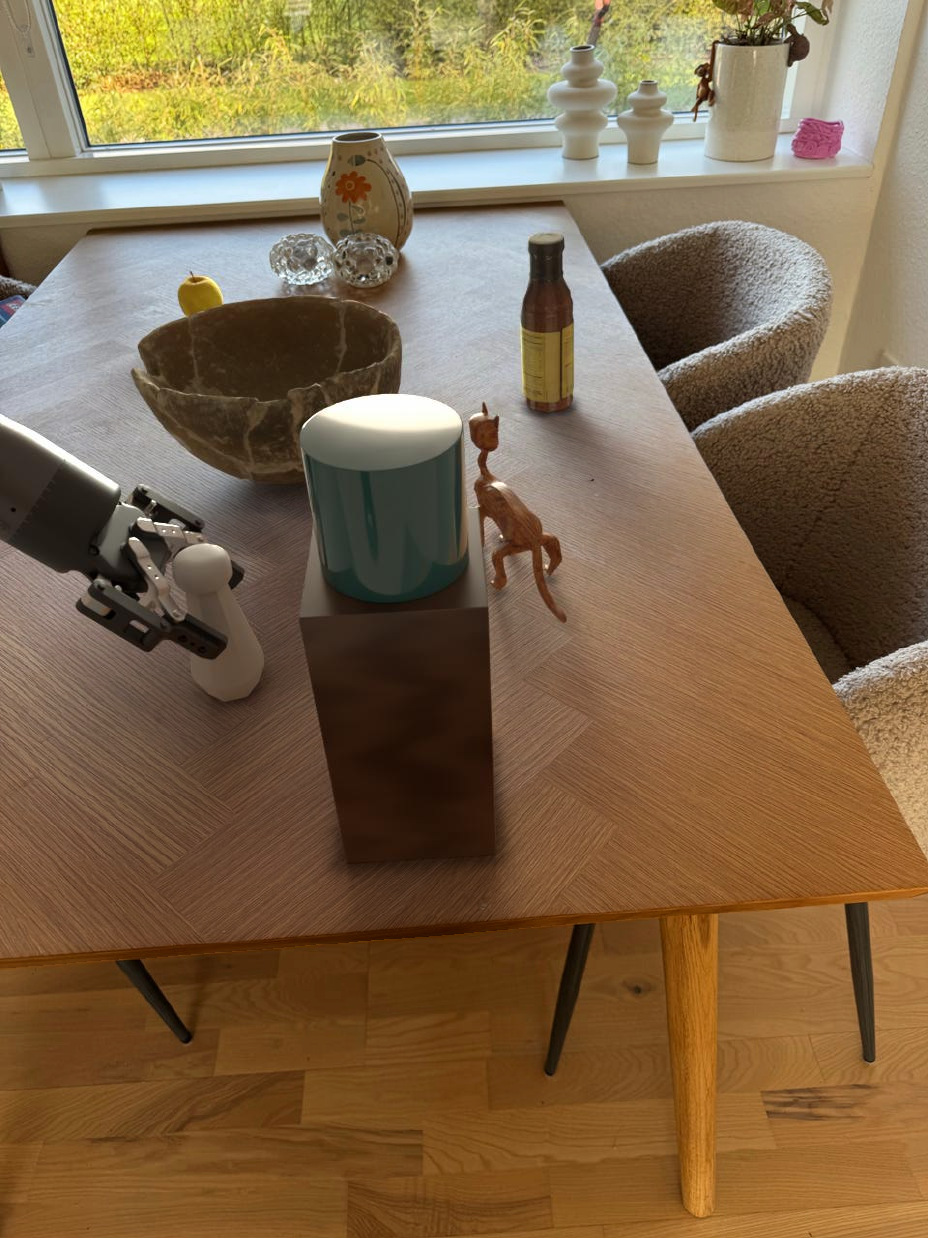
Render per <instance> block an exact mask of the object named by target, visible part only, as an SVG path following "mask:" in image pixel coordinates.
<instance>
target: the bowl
mask: <svg viewBox="0 0 928 1238" xmlns="http://www.w3.org/2000/svg"><path fill="white" fill-rule="evenodd" d="M400 331H401V330H400V329H399V326H398V324H397V322H396V321H395V319H394V318H392V317H391V316H390V315H389V314H387V313H385V312H383V311H381V310H379V309H377V308H375V307H373V306H371V305H369V304H366V303H364V302H362V301H357V300H353V299H346V300H344V301H343V299H342V298H341V297H333V296H326V295H316V294H315V295H309V294H308V295H307V294H306V295H287V296H281V297H279V296H278V297H277V296H276V297H264V298H253V299H248V300H247V299H246V300H242V301H233V302H228V303H223V305H220V306H216V307H213V308H209V309H207V310H204V311H202V312H199V313H194V314H191V315H190V316H188V317H186V316H184V317H181V318H178V319H175V320H172V321H169V322H167V323H165V324H162V325H160V326H158V327H156V328H154V329H153V330H151V331H150V332H149V333H148V334H146V335H145V336H144V337H143V338H141V340H140V341H138V344H137V350H138V354H139V356H140V359H141V360H142V362H143V365H144V367H145V370H141V369H139V368H138V367H132V368H131V369H130V375H131V377H132V380H133V384H134V385H135V387H136V389H137V390H138V392H139V394H140V396H141V397H142V399H143V401H144V402H145V404H146V405H147V408H149V410H150V411H151V412H152V414H153V415H154V417H155V418H156V420H157V421H158V422H159V423H160V424H161V426H162V427H163V428H164V429H165V430H166V432H167V433H168V434H169V435H170V436H171V438H172V439H174V440H175V441H176V442H177V443H178V444H179V445H180V446H181V447H183V448H184V449H185V450H186V451H187V452H189V453H190V454H191V455H193V456H194V457H195V458H197V459H198V460H200V461H201V462H203V463H204V464H206V465H208V466H210V467H211V468H213V469H216V470H217V471H220V472H221V473H224V474H225V475H228V476H231V477H233V478H237V479H239V480H249V481H253V482H255V483H263V484H274V485H277V484H280V485H289V484H301V483H306V478H305V472H304V466H303V460H302V455H301V449H300V443H299V435H300V432H301V430H302V428H303V426H304V425H305V424H306V422H307V421H308V420H309V419H310V418H312V417H313V416H314V415H316V414H317V413H319V412H320V411H322V410H324V409H326V408H328V407H330V406H332V405H335V404H338V403H340V402H343V401H347V400H351V399H354V398H359V397H365V396H372V395H382V394H399V392H400V386H401V382H402V363H403V341H402V336H401V332H400Z"/></svg>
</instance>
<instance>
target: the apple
mask: <svg viewBox="0 0 928 1238" xmlns="http://www.w3.org/2000/svg"><path fill="white" fill-rule="evenodd" d="M189 273H190V275H191V276H188V277H186V279H185V280H183V282H182V283H181V284H180V285H179V287H178V289H177V300H178V304H179V307H180V309H181V311H182V313H183V315H184V316H185V317H188V316H190V315H191V314H194V313H199V312H202V311H204V310H207V309H209V308H213V307H216V306H220V305H223V304H224V297H223V294H222V291H221V289H220V287H219V285H218V284H217V283H216V282H215V281H214V280H213V279H212V278H209V277H207V276H202V275H194V273H193V271H192V270H189Z"/></svg>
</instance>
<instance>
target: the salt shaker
mask: <svg viewBox="0 0 928 1238" xmlns="http://www.w3.org/2000/svg"><path fill="white" fill-rule="evenodd" d="M230 559H231V558H230V556H229V553H228V551H226V549H224V548H222V547H221V546H219V545H217V544H211V543H206V544H196V545H193V546H190V547H187V548H185V549H184V550H182V551H181V552H179V553H178V554H177V555H176V557H175V558H174V560H173V561H172V562H171V571H172V573H171V574H172V580H173V582H174V584H175V586H176V587H177V588H178V589H179V590H180V591H182V592H183V593H184V594H185V602H186V613H188V614H190V615H192V616H193V617H195V618H197V619H198V620H200V621H202V622H203V623H205V624H207V625H209V626H210V627H212V628H214V629H215V630H217V631H219V632H220V633H222V634H224V635H225V636H227V637H228V643H227V647H226V649H225V650H224V651H223V652H222V653H221V654H220V655H219V656H218V657H217V658H216V659H214V660H209V659H204V658H201V657H199V656H197V655H195V653H192V652H190V651H189V654H190V655H189V656H190V657H189V658H190V670H191V676H192V678H193V680H194V681H195V682H196V683H197V684H198V685H199V686H200V687H201V688H202V689H203V690H204V691H205V692H206V693H207V694H208V695H210V696H212V697H214V698H216V699H218V700H220V701H222V702H224V703H227V702H231V701H235V700H239V699H240V700H241V699H244V698H247V697H249V696H250V694H251V693H252V692H253V690H254V689H255V688H256V687H257V685H258V684H259V683H260V680H261V676H262V673H263V669H264V666H265V656H264V652H263V649H262V646H261V645H260V642H259V641H258V639H257V637H256V635H255V633H254V631H253V629H252V627H251V625H250V624H249V622H248V619H247V618H246V616H245V614H244V612H243V610H242V608H241V607H240V605H239V603H238V601H237V599H236V597H235V595H234V593H233V590H231V589H230V587H229V585H228V582H229V580H230V579H231V577H232V573H233V572H232V566H231V562H230Z"/></svg>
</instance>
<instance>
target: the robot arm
mask: <svg viewBox="0 0 928 1238" xmlns="http://www.w3.org/2000/svg"><path fill="white" fill-rule="evenodd" d="M121 496H122V489H121V486H120V485H119V484H117V483H116V482H114V481H113V480H111V479H110V478H108V477H107V476H105V475H104V474H102V473H101V472H99V471H97V470H96V469H94V468H92V467H91V466H90V465H88V464H86V463H85V462H83V461H81V460H79V458H77V457H75V456H73V455H72V454H70V453H69V452H67V451H66V450H64V449H63V448H60V446H57V445H56V444H55V443H54V442H52V441H50V440H48V439H47V438H45V437H44V436H42V435H41V434H39V433H37V432H35V431H34V430H32V429H30V428H28V427H26V426H24V425H22V424H20V423H18V422H16V421H13V420H11V419H9V418H8V417H5V416H4V415H2V414H0V541H1V542H3V543H5V544H7V545H8V546H11V547H13V548H14V549H16V550H18V551H19V552H20V553H23V554H25V555H27V556H28V557H29V558H32V559H33V560H36V561H37V562H39V563H40V564H42V565H44V566H46V567H47V568H49V569H51V570H53V571H55V572H56V573H59V574H68V573H69V572H71V571H75V572H78V573H79V574H81V575H83V577H85V578H86V579H87V580H88V581H89V582H90V585H89V586H88V587H87V589H85V591H83V594H82V595H81V596H80V597H79V598H78V600H77V601H76V602H75V604H74V606H75V609H76V611H78V612H79V614H81V615H83V616H84V617H86V618H88V619H89V620H91V621H93V622H94V623H96V624H98V625H99V626H101V627H102V628H104V629H106V630H108V631H109V632H111V633H112V634H114V635H116V636H118V637H119V638H121V639H122V640H124V641H126V642H128V643H129V644H131V645H132V646H134V647H136V648H137V649H139V650H141V651H142V652H145V653H151V652H153V651H154V650H155V649H156V647H158V646H159V645H160V644H161V643H162V642H164V641H170V642H172V643H174V644H176V645H178V646H179V647H181V648H183V649H185V650H186V651H189V653H190V652H192V653H195V655H197V656H199V657H201V658H204V659H209V660H214V659H216V658H217V657H218V656H219V655H220V654H221V653H222V652H223V651H224V650H225V649H226V647H227V643H228V637H227V636H225V635H224V634H222V633H220V632H219V631H217V630H215V629H214V628H212V627H210V626H209V625H207V624H205V623H203V622H202V621H200V620H198V619H197V618H195V617H193V616H192V615H190V614H188V613H187V612H186V613H184V611H183V610H182V609H181V607H180V606H179V605H178V604H177V602H176V601H175V600H174V598H173V596H172V595H171V585H170V583H169V582H168V580H167V579H166V577H165V574H166V571H167V565H168V564H170V563H172V561H173V560H174V558H175V557H176V555H177V554H178V553H179V552H181V551H182V550H184V549H185V548H187V547H190V546H193V545H196V544H206V543H207V544H209V541H208V539H207V537H206V536H205V535H204V534H203V529H205V527H206V523H205V521H204V520H203V519H202V518H201V517H199V516H197V515H196V514H194V513H193V512H191V511H189V510H187V509H186V508H184V507H182V506H181V505H179V504H178V503H176V502H174V501H172V500H171V499H169V498H167V497H166V496H164V495H162V494H161V493H159V492H157V491H156V490H154V489H152V488H151V487H149V486H147V485H145V484H143V483H139V484H137V485H136V487H135V488H134V489H133V490H132V491H131V492H130V494H129V495H128V496H127V497H126V499H125V501H124V502H123V501H120V499H121ZM172 520H176V521H178V522H180V523H182V524H183V525H184V526H183V527H181V526H180V525H174V524H171V523H170V522H171V521H172ZM230 562H231V566H232V572H233V573H232V577H231V579H230V580H229V582H228V585H229V587H230V589H231V591H234V590H235V589H236V588H237V587H238V586H239V584H240V583H241V582H242V581H244V579H245V575H246V569H245V568H244V567H242V566H240V565H239V564H237V563H238V562H236V561H234V560H232V558H230ZM138 594H143V595H142V596H141V597H140V596H139V595H138ZM156 607H158V608H159V609H160V611H161V612H162V615H161V616H160V615H159V614H158V612H157V611H156ZM132 622H137V623H139V624H140V625H141V626H143V627H145V628H147V629H146V630H145V632H144V631H143V630H142V629H140V628H138V627H137V626H135V625H133V624H132Z"/></svg>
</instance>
